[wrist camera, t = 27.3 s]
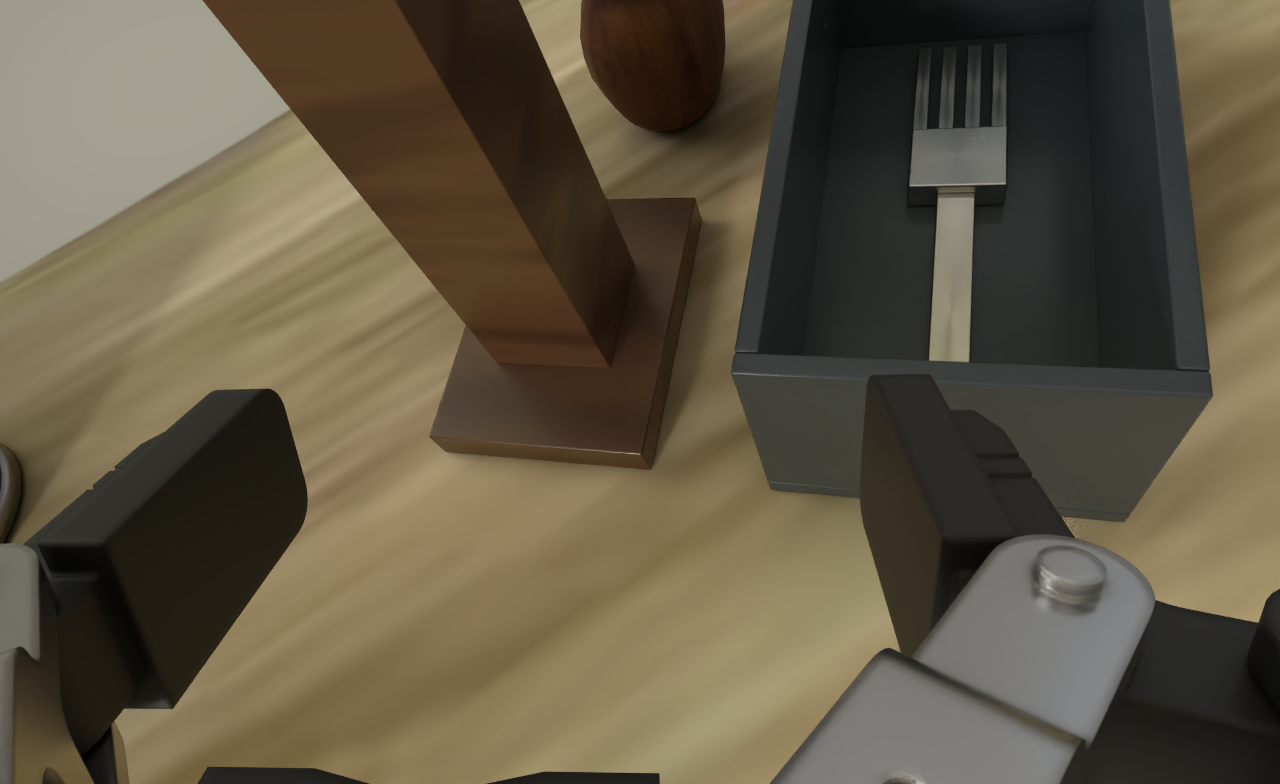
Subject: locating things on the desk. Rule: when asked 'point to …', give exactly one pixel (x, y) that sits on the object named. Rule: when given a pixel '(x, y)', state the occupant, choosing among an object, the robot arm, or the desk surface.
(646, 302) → the stand
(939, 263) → the fork
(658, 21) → the wooden figurine
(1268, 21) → the desk surface
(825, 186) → the bin
